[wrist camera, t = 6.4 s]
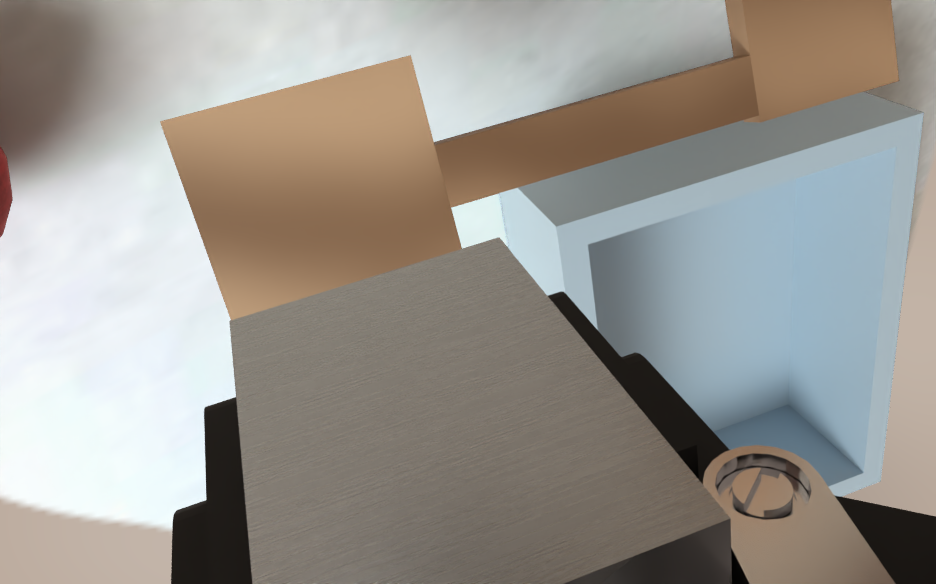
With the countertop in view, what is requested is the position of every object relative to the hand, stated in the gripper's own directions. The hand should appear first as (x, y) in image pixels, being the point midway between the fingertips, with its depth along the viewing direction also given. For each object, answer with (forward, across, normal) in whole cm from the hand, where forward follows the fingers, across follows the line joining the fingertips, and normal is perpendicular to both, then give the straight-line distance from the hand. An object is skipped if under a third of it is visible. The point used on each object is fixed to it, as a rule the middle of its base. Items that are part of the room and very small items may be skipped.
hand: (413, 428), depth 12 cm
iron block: (0, 0, 0) cm, 1 cm away
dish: (+19, -14, +13) cm, 27 cm away
